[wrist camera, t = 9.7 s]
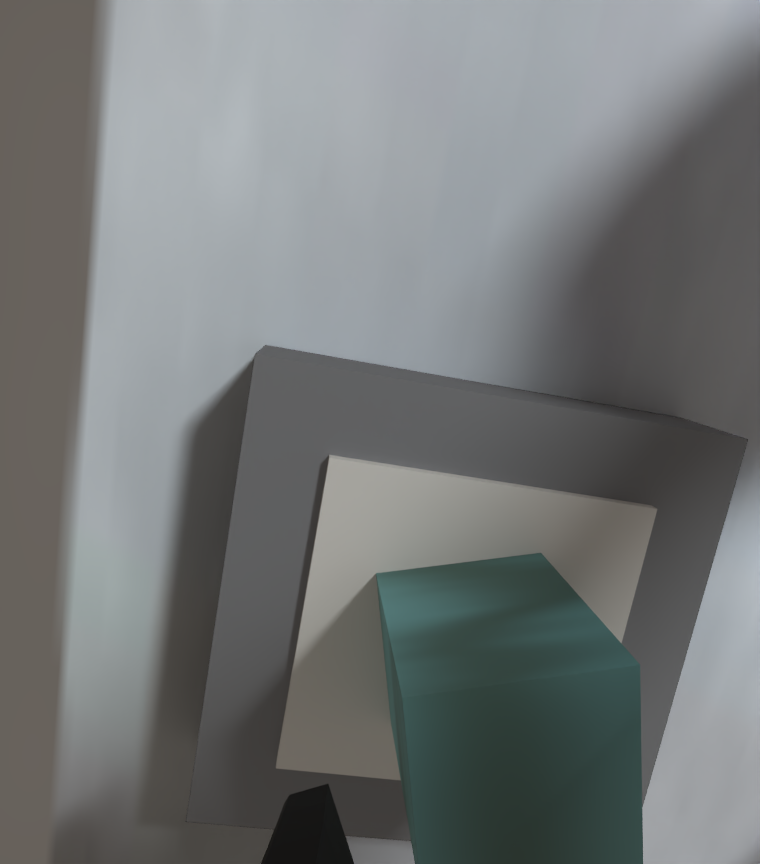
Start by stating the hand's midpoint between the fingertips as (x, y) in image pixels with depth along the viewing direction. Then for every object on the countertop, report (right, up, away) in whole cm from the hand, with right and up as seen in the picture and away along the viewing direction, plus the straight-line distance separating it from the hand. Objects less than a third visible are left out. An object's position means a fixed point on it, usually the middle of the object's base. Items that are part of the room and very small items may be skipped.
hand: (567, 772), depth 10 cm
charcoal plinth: (-1, +1, +9) cm, 9 cm away
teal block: (-1, 0, +6) cm, 6 cm away
